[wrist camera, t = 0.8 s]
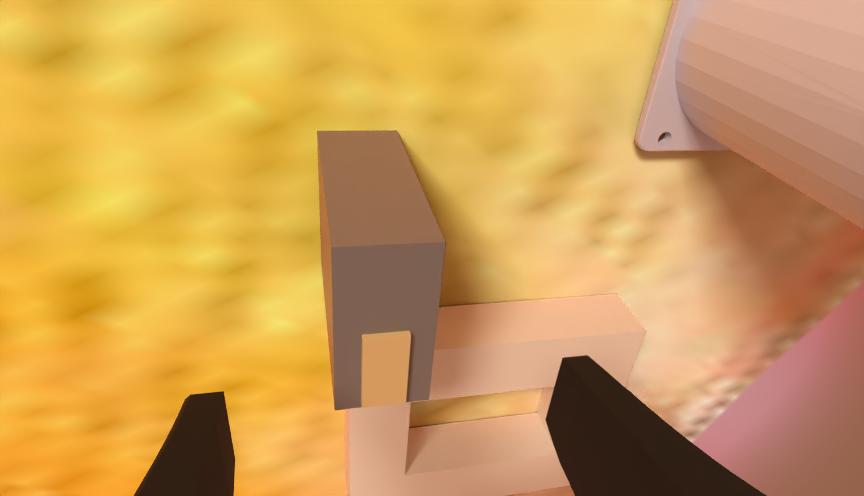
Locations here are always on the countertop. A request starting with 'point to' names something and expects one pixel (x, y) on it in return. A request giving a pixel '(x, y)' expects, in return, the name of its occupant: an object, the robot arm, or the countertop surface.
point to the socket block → (486, 374)
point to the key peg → (377, 269)
